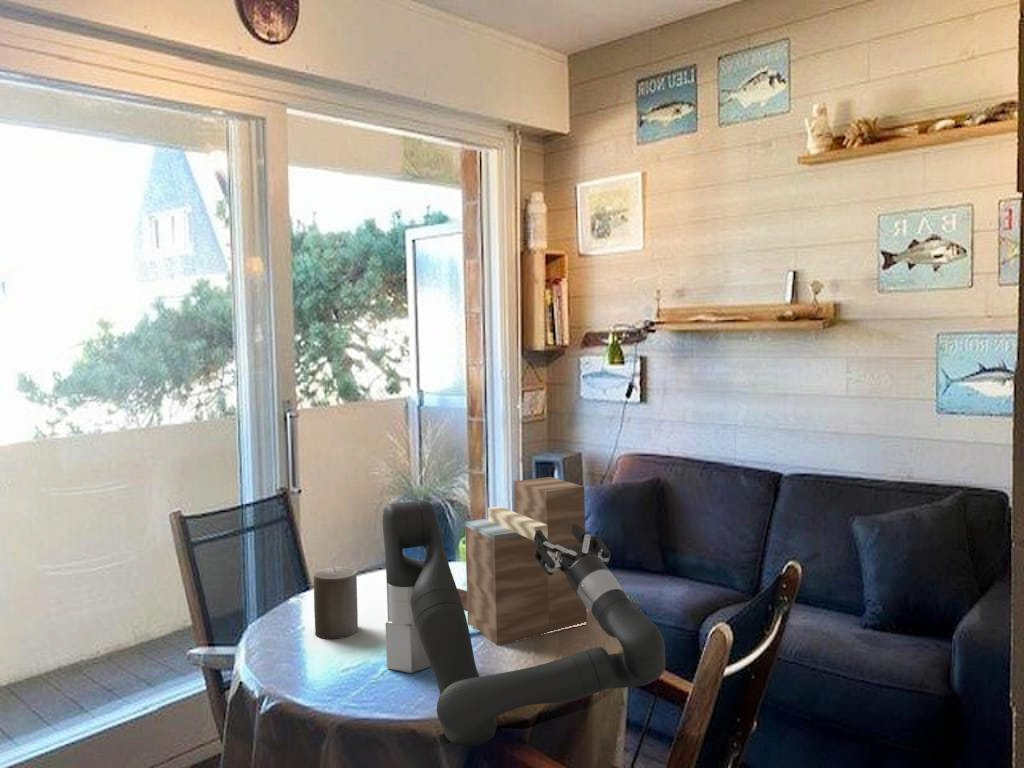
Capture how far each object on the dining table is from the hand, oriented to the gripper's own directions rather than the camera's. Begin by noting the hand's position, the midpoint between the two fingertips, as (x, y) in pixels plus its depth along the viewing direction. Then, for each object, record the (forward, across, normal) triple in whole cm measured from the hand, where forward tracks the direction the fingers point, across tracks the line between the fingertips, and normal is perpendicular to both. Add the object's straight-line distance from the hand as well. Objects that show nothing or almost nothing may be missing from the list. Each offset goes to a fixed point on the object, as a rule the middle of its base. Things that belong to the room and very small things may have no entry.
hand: (555, 530), depth 162 cm
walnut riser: (+7, +4, -35) cm, 36 cm away
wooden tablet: (+31, -2, -48) cm, 57 cm away
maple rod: (+13, 0, -11) cm, 17 cm away
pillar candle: (+24, -35, -43) cm, 60 cm away
